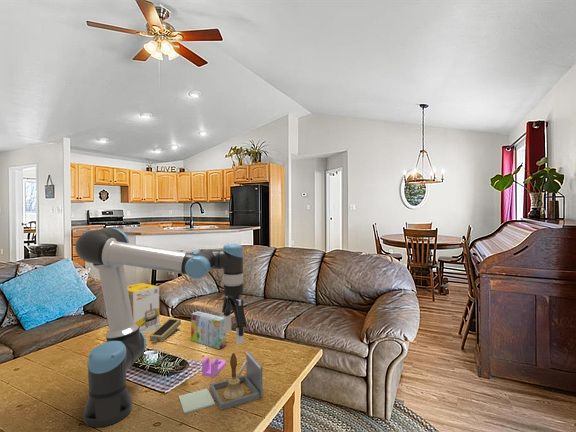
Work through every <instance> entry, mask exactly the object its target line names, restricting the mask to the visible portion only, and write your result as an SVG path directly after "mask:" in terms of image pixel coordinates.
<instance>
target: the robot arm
mask: <svg viewBox="0 0 576 432" xmlns="http://www.w3.org/2000/svg"><path fill="white" fill-rule="evenodd" d="M74 245H75V247H74V248H75V253H76V255H77V257H78V258H80V260H81V261H84V262H87V263H88V264H89V263H90V264H92V266H93V267H94V268H96V269H97V271H98V274H99V280H100V285H101V290H102V295H103V302H104V307H105V312H106V318H107V324H108V330H109V331H107V333H106V335H105V338H106V341H105V342H103V343H102V344H98V345H97V346H94V347H93V348H92V350H91V351H90V352H89V354H88V357H87V359H88V360H87V375H88V378H87V379H88V396H87V400H86V403H85V407H84V410H83V414H82V416H83V417H82V421H83V423H84V424H85V425H86V426H88V427H92V428H101V427H106V426H110V425H111V426H112V425H113V424H115V423H118V422H120V421H122V420H123V419H124V418H126V417H128V415H129V414H130V413H131V411H132V410H133V400H132V397H131V394H130V392H129V390H128V388H127V371H128V370H130V368H131V367H132V366H133V365H134V363H135V362H136V361H138V360H139V359H140V358H141V357H142V355H143V353H144V352H145V350H146V347H147V339H146V336H145V333H144V334H143V333H141V332H140V331H139V327H138V325H136V324H134V322H133V317H132V311H131V305H130V300H129V294H128V288H127V286H128V283H127V278H126V271H125V267H124V266H128V267H129V266H131V267H136V268H142V269H149V270H156V271H162V272H168V273H174V274H175V273H176V274H180V275H181V274H183V275H187V276H188V277H189V278H191V279H194V280H198V279H201V278H204V277H206V276H207V275H208V274H209V272H210V271H211V270H223V278H222V279H223V281H222V282H223V284H224V285H223V294H224V299H223V305H222V309H221V310H222V311H221V312H222V314H223V317H224V332H226V333H228V332H232V315H234V319H235V323H236V326H235V334H236V335H235V337H236V339H235V340H236V341H235V343H236V344H235V345H243V344H245V330H244V328H245V327H247V321H246V315H245V309H244V300H243V299H240V296H241V295H243V294H244V284H243V283H244V276H245V275H244V254H243V253H244V252H243V251H244V250H243V246H242V244H237V243H231V244H230V243H229V244H224V245H223V247H222V248H221V249H195V250H193V251H192V252H185V251H179V250H174V249H173V250H172V249H167V248H161V247H153V246H148V245H144V244H143V245H141V244H135V243H130V241H129V238H128V235H127V234H126V233H125V232H124V231H123V230H121V229H119V228H116V227H115V228H114V227H105V228H98V229H92V230H87V231H86V232H83V233H82V234H81V235H79V236H78V238H77V240H76V242H75V244H74ZM232 312H233V314H232Z"/></svg>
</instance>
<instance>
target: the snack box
mask: <svg viewBox="0 0 576 432" xmlns="http://www.w3.org/2000/svg"><path fill="white" fill-rule="evenodd" d="M190 325H191V326H190V333H191V334H190V336H191V337H190V340H191V341H192V342H194V343H197V344H201V345H203V346H207V347H210V348H213V349H216V350H219V351H220V350H222V349H224V348H225V347H227V346H226V345H227V332H224V316H219V315H216V314H211V313H208V312H203V311H198V310H197V311H195V312H191V314H190Z"/></svg>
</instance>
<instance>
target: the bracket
mask: <svg viewBox="0 0 576 432" xmlns="http://www.w3.org/2000/svg"><path fill="white" fill-rule="evenodd" d="M226 362H227V361H226V360H225V359H218V358H213V359H212V360H211V361H210V358H209V357H206V356H205V357H203V360H202V365H201V368H202V372H201V373H202V376H205V377H211V378H215V376H216V375H218V374H219V373H220V371H222V369H223V368H224V367H225V366H226V365H227V364H226Z"/></svg>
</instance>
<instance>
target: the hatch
mask: <svg viewBox="0 0 576 432" xmlns="http://www.w3.org/2000/svg"><path fill="white" fill-rule="evenodd" d="M245 358H246V360H244V362H243V364H242V366H241V367H240V369H239V372H238V373H237V374H236V378H239V380H240V384H241V383H244V384H245V385H246V386H247V388H249V389H248V390H250V392H251V393H250V394H246V395H244V396H243V397H240V398H236V399H233V400H227V401H223V400H222V399H221V397H220V395H219V393H218V391H217V389H221V388H227V387H228V381H229V379H225V380H221V381H218V382H214V383H210V384H209V390H210V393H211V395H212V397H213V398H214V400H215V401H216V403H217V405H218V407H219V409H220V411H223V410H227V409H230V408H232V407H236V406H240V405H244V404H246V403H250V402H253V401H256V400H258V399H263V398H264V397H263V391H264V390H263V387H264V386H263V382H264V381H263V380H264V379H263V373H264V371H263V366H262V364H260V362H259V361H258V360H257V358H255V357H254V356H253V354H251V352H249V351H248V350H247V351H245ZM244 368H246V369H245V372H246V373H245V375H241V374H242V372H243V371H244Z"/></svg>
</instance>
